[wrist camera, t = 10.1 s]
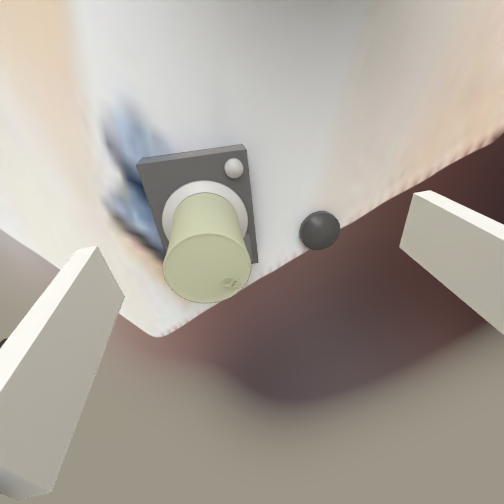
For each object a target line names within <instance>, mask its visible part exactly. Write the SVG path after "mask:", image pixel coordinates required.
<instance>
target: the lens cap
mask: <svg viewBox="0 0 504 504" xmlns="http://www.w3.org/2000/svg"><path fill="white" fill-rule="evenodd" d="M339 232H340V224H339V222H338V220H337V219H336V218H335V217H334V216H333V215H332V214H330V213H329V212H325V211H318V212H315V213H312V214H311V215H309V216H308V217H307V218H306V219H305V220H304V221H303V222H302V224H301V226H300V230H299V235H300V238H301V240H302V242H303V243H304V244H305V246H307V247H308V248H310V249H313V250H321V249H325V248H327V247H329V246H330V245H332V243H334V242H335V240H336V239H337V237H338V235H339Z"/></svg>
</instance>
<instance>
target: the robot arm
mask: <svg viewBox="0 0 504 504" xmlns="http://www.w3.org/2000/svg"><path fill="white" fill-rule="evenodd" d="M399 247H400V248H401V249H402V250H403V251H405V252H406V253H407V254H408V255H409V256H410V257H412V258H413V259H414V260H415V261H416V262H418V263H419V264H420V265H421V266H422V267H424V268H425V269H426V270H427V271H428V272H429V273H431V274H432V275H433V276H434V277H435V278H437V279H438V280H439V281H440V282H442V283H443V284H444V285H445V286H446V287H447V288H449V289H450V290H451V291H452V292H454V294H456V295H457V296H458V297H459V298H460V299H462V300H463V301H464V302H465V303H467V304H468V305H469V306H470V307H471V308H473V309H474V310H475V311H476V312H477V313H478V314H479V315H481V316H482V317H483V318H484V319H485V320H487V321H488V322H489V323H490V324H492V325H493V326H494V327H495V328H496V329H498V330H499V331H500V332H501V333H502V334H503V335H504V225H503V224H501V223H499V222H496V221H494V220H492V219H490V218H488V217H486V216H484V215H482V214H479V213H477V212H475V211H473V210H471V209H469V208H467V207H465V206H463V205H460V204H458V203H456V202H454V201H452V200H450V199H447V198H446V197H443V196H441V195H439V194H437V193H435V192H433V191H424V192H418V193H414V194H413V198H412V202H411V205H410V209H409V213H408V216H407V220H406V224H405V227H404V231H403V235H402V239H401V242H400V246H399ZM123 300H124V295H123V293H122V291H121V289H120V287H119V286H118V284H117V282H116V280H115V278H114V276H113V274H112V273H111V271H110V269H109V267H108V265H107V263H106V261H105V260H104V258H103V256H102V254H101V252H100V250H99V248H98V247H97V246H94V247H88V248H82V249H77V250H76V251H75V252H74V254H73V255H72V256H71V258H70V259H69V260H68V262H67V263H66V264H65V265H64V267H63V268H62V269H61V271H60V272H59V273H58V274H57V276H56V277H55V278H54V280H53V281H52V282H51V284H50V285H49V286H48V287H47V289H46V290H45V291H44V293H43V294H42V295H41V297H40V298H39V299H38V300H37V302H36V303H35V304H34V306H33V307H32V308H31V309H30V311H29V312H28V313H27V315H26V316H25V317H24V318H23V320H22V321H21V322H20V324H19V325H18V326H17V328H16V329H15V330H14V332H13V333H12V334H11V335H10V337H9V338H7V339H4V340H2V341H1V342H0V493H1V494H4V495H6V496H8V497H10V498H13V499H15V500H20V499H25V498H29V497H34V496H38V495H42V494H46V493H51V491H52V489H53V486H54V483H55V481H56V478H57V475H58V473H59V470H60V467H61V465H62V462H63V459H64V457H65V454H66V451H67V449H68V446H69V444H70V441H71V438H72V435H73V433H74V430H75V427H76V425H77V422H78V419H79V417H80V414H81V411H82V409H83V406H84V404H85V401H86V398H87V396H88V393H89V390H90V387H91V385H92V382H93V380H94V377H95V374H96V372H97V369H98V366H99V364H100V361H101V358H102V356H103V353H104V350H105V348H106V345H107V342H108V340H109V337H110V334H111V332H112V329H113V326H114V324H115V321H116V318H117V316H118V313H119V311H120V308H121V305H122V303H123Z"/></svg>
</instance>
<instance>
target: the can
mask: <svg viewBox="0 0 504 504" xmlns="http://www.w3.org/2000/svg"><path fill="white" fill-rule="evenodd" d="M250 272H251V260H250V256H249V254H248V252H247V249H246V246H245V243H244V240H243V237H242V233H241V230H240V226H239V220H238V215H237V212H236V210H235V209H234V207H233V206H232V205H231V203H230V202H228V201H227V200H226V199H224V198H223V197H221V196H218V195H216V194H211V193H199V194H195V195H192V196H190V197H188V198H186V199H185V200H183V201H182V202H181V203H180V204H179V205H178V207H177V208H176V210H175V212H174V216H173V227H172V232H171V236H170V241H169V245H168V250H167V254H166V256H165V259H164V263H163V274H164V278H165V280H166V282H167V284H168V286H169V287H170V288H171V289H172V290H173V291H174V292H175V293H176V294H177V295H179V296H180V297H182V298H184V299H186V300H189V301H192V302H197V303H215V302H219V301H223V300H225V299H228V298H230V297H232V296H233V295H235V294H236V293H238V292H239V291H240V290H241V289H242V288H243V287H244V285H245V284H246V282H247V281H248V279H249V276H250Z"/></svg>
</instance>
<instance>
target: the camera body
mask: <svg viewBox="0 0 504 504" xmlns="http://www.w3.org/2000/svg"><path fill="white" fill-rule="evenodd" d="M136 166H137V169H138V172H139V175H140V178H141V181H142V184H143V187H144V190H145V193H146V196H147V199H148V202H149V205H150V208H151V211H152V214H153V217H154V220H155V223H156V226H157V229H158V231H159V234H160V237H161V240H162V243H163V246H164V249H165V252H166V254H167V250H168V245H169V241H170V236H171V232H172V227H173V216H174V212H175V210H176V208H177V207H178V205H179V204H180V203H181V202H182V201H183V200H185V199H186V198H188V197H190V196H192V195H195V194H199V193H211V194H216V195H218V196H221V197H223V198H224V199H226V200H227V201H228V202H230V203H231V205H232V206H233V207H234V209H235V210H236V212H237V215H238V220H239V226H240V230H241V233H242V237H243V240H244V243H245V246H246V249H247V252H248V254H249V256H250V260H251V264H253V263H258V254H257V244H256V235H255V225H254V216H253V206H252V197H251V187H250V178H249V169H248V159H247V150H246V148H245V147H244V146H243V145H242V144H240V145H233V146H226V147H219V148H211V149H204V150H197V151H190V152H182V153H175V154H168V155H161V156H154V157H146V158H142V159H141V160H140V161H139V162H138V163H137V164H136Z"/></svg>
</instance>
